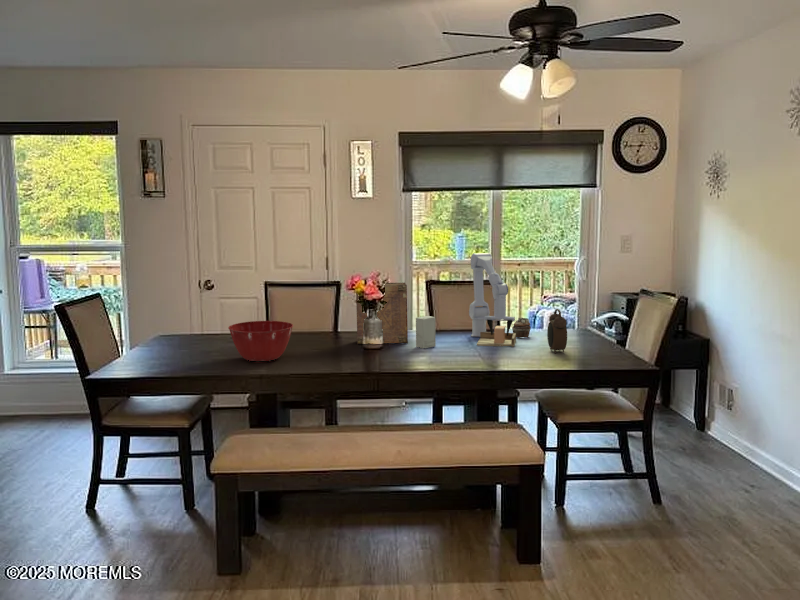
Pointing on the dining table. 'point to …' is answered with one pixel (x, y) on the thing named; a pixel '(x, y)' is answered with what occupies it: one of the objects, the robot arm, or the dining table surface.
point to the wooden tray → (488, 339)
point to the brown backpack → (557, 332)
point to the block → (499, 334)
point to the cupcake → (521, 327)
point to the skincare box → (425, 332)
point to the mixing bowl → (261, 339)
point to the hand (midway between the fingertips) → (499, 335)
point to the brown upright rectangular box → (389, 315)
